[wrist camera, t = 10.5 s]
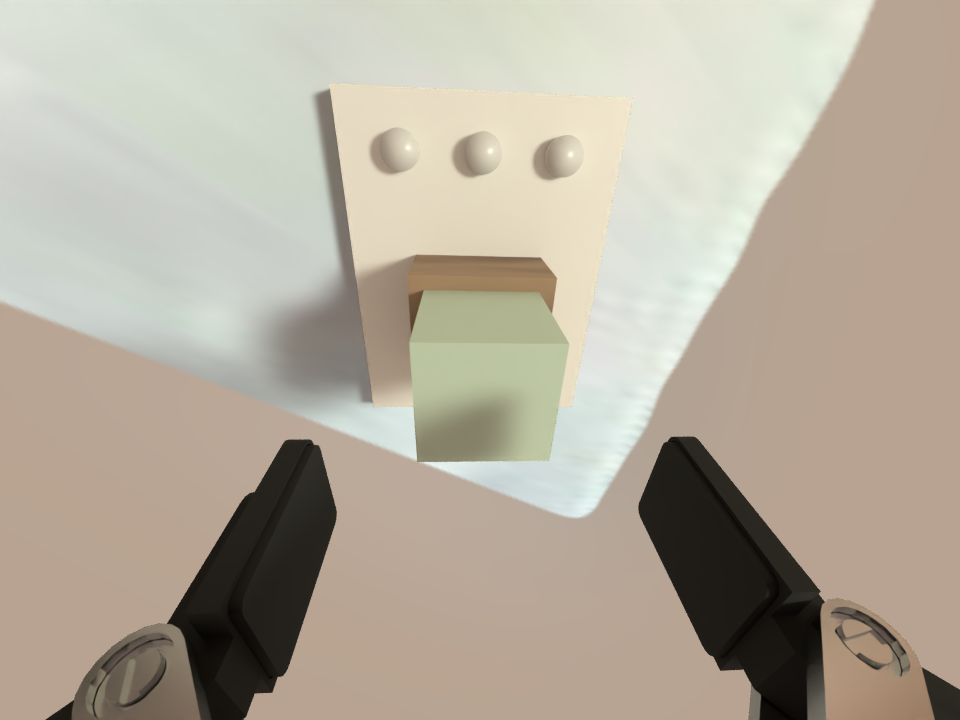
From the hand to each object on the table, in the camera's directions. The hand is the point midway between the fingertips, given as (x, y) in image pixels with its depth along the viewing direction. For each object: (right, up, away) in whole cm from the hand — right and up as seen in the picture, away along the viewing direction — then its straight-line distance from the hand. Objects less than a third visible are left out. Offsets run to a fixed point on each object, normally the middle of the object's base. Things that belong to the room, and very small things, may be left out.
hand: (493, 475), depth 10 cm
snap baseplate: (-1, +8, +12) cm, 14 cm away
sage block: (0, +4, +8) cm, 9 cm away
